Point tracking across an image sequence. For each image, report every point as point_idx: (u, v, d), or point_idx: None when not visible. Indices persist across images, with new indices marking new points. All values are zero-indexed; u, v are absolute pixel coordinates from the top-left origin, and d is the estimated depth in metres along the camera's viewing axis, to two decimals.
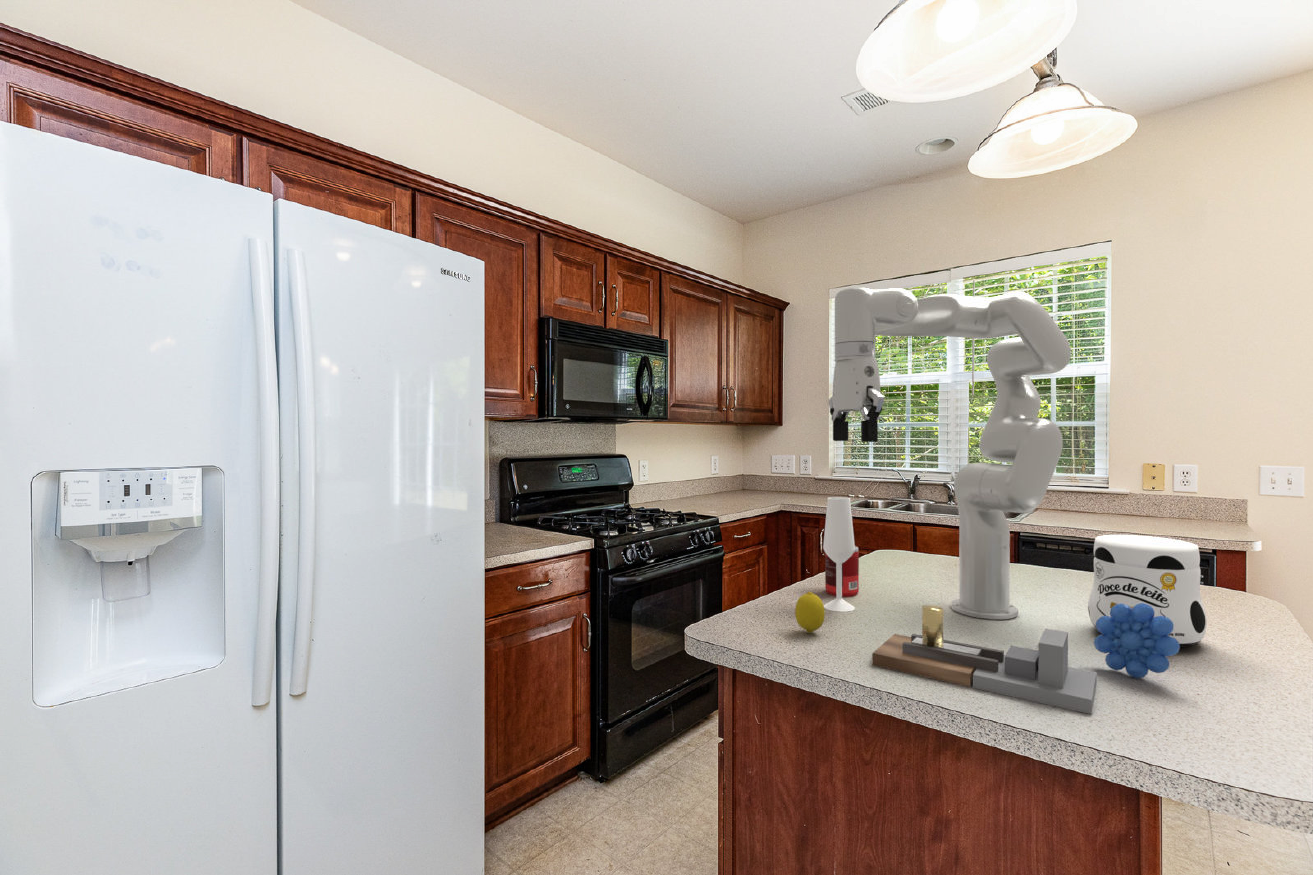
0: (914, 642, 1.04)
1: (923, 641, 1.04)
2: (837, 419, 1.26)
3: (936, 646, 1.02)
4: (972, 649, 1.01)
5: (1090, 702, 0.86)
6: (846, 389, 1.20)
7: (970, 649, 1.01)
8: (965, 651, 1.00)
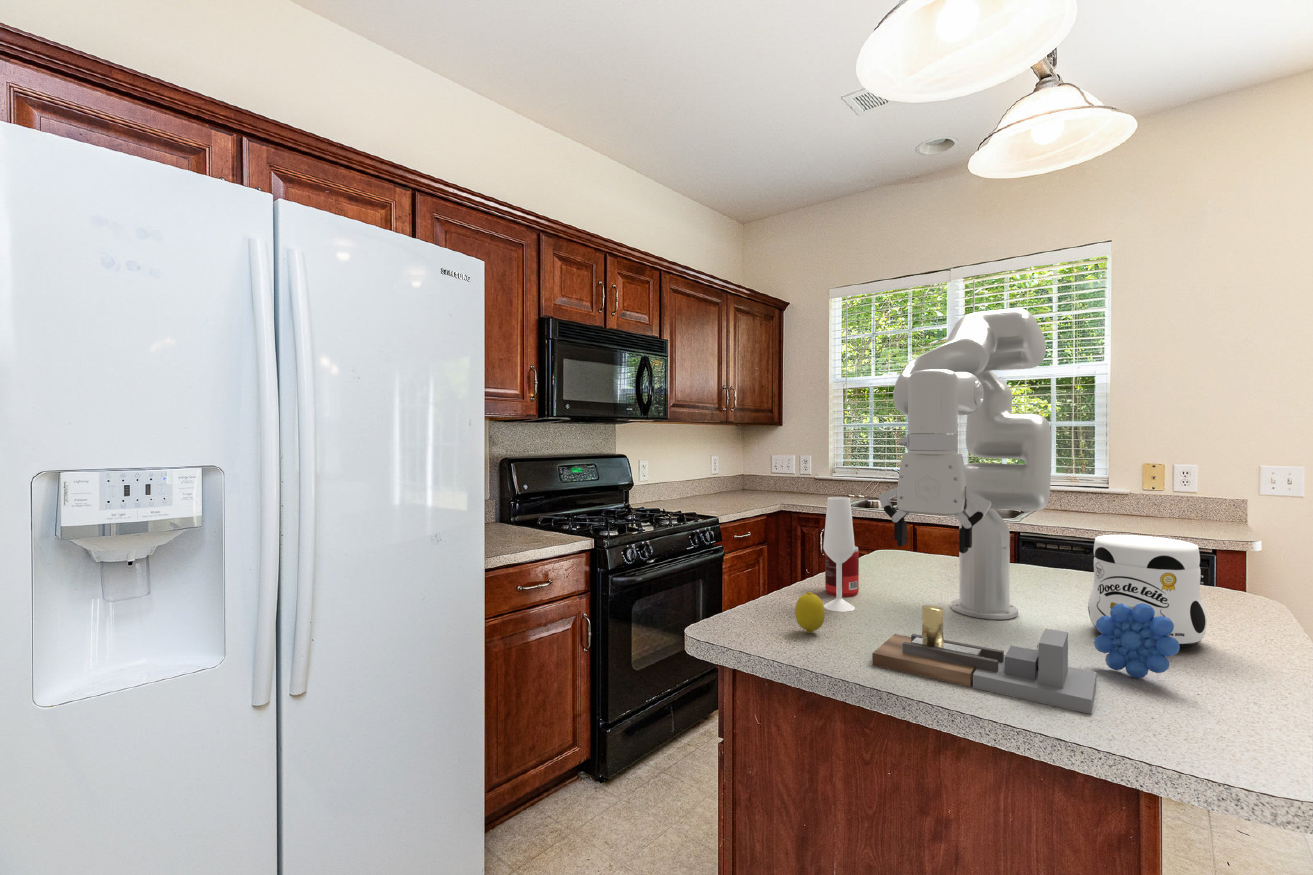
0: (914, 642, 1.04)
1: (923, 641, 1.04)
2: None
3: (936, 646, 1.02)
4: (972, 649, 1.01)
5: (1090, 702, 0.86)
6: None
7: (970, 649, 1.01)
8: (965, 651, 1.00)
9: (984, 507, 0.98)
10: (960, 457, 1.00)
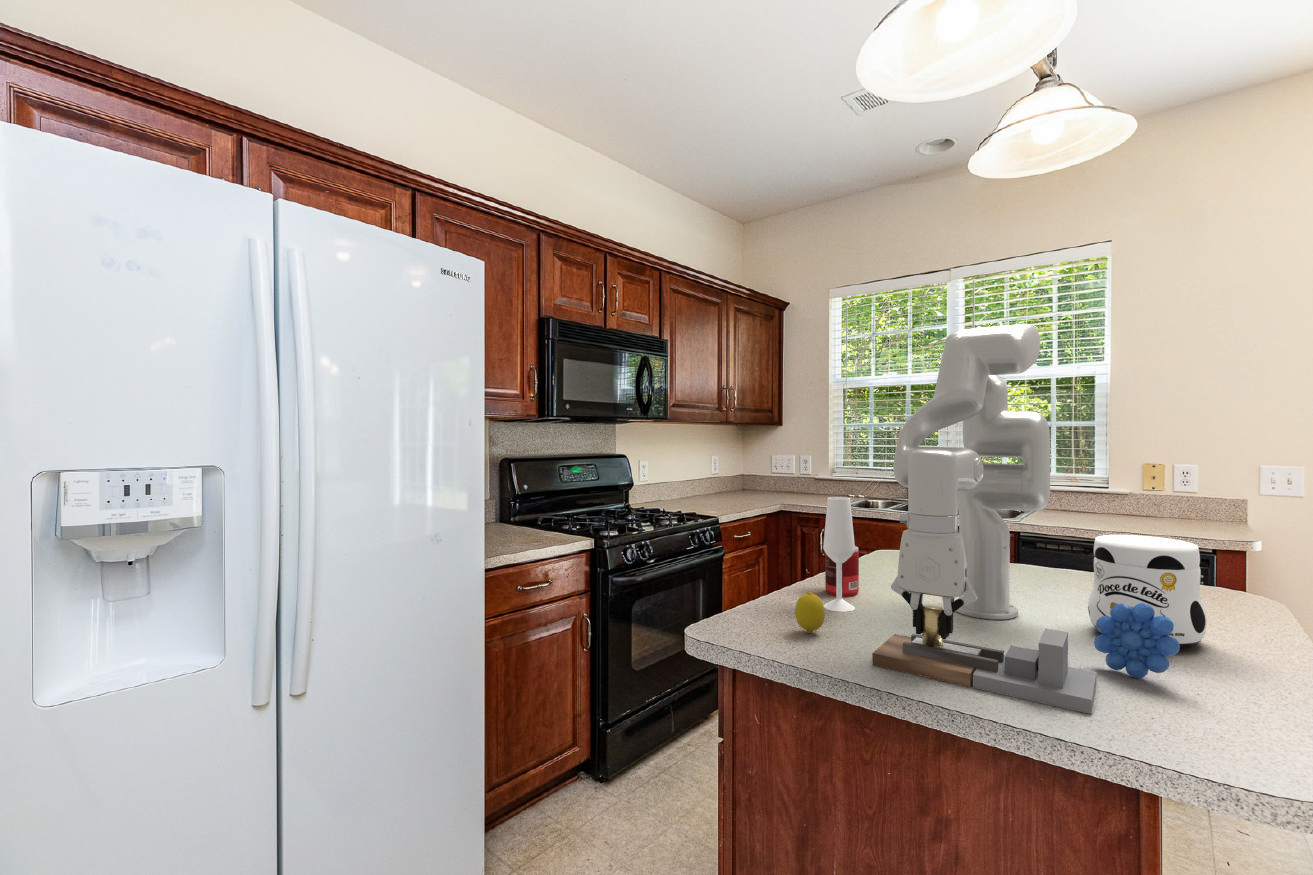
0: (914, 642, 1.04)
1: (923, 641, 1.04)
2: None
3: (936, 646, 1.02)
4: (972, 649, 1.01)
5: (1090, 702, 0.86)
6: None
7: (970, 649, 1.01)
8: (965, 651, 1.00)
9: (969, 600, 1.00)
10: (960, 539, 1.00)
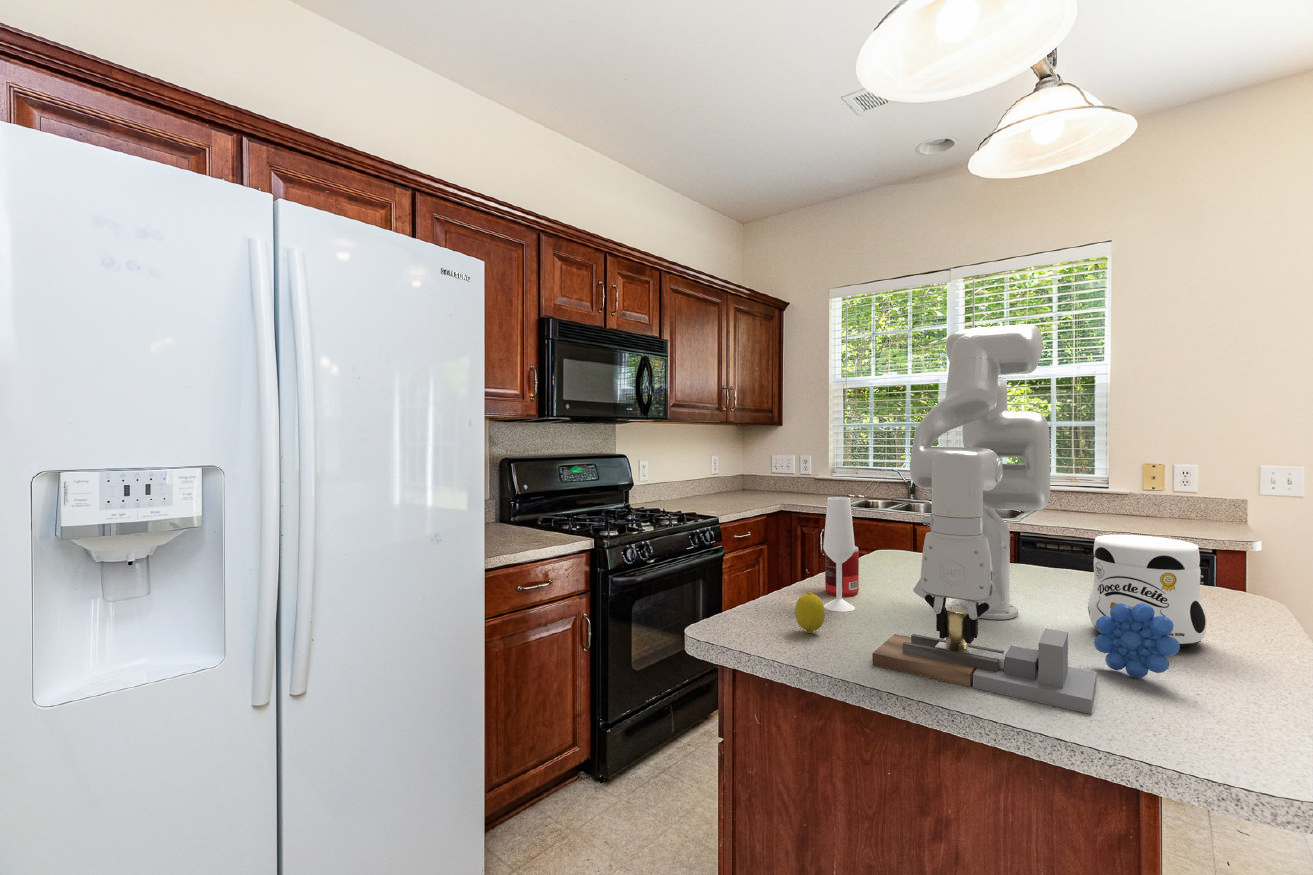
0: (938, 647, 1.02)
1: (947, 646, 1.02)
2: None
3: (961, 651, 1.00)
4: (997, 654, 0.99)
5: (1090, 702, 0.86)
6: None
7: (996, 653, 0.99)
8: (991, 656, 0.98)
9: (995, 604, 0.98)
10: (986, 542, 0.98)
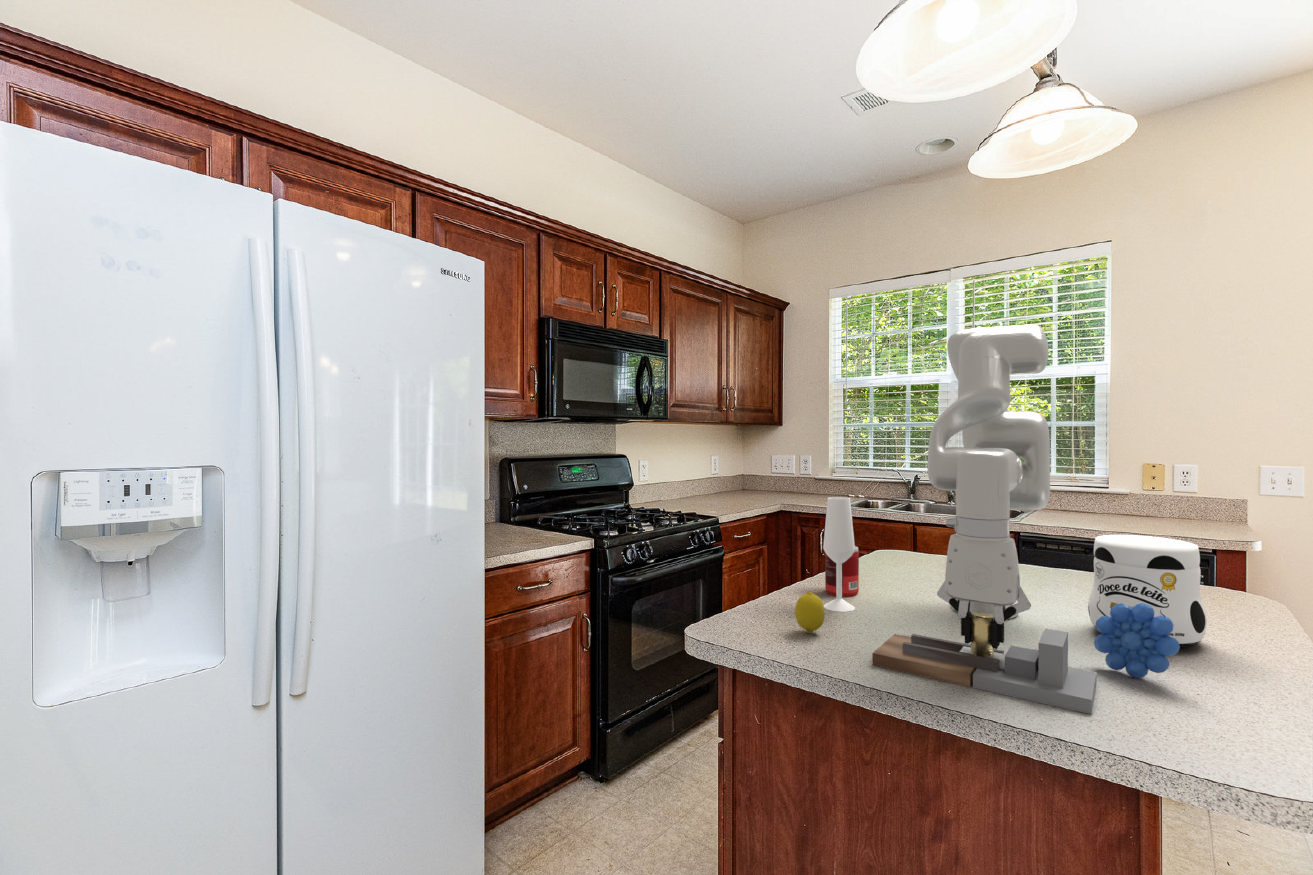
0: (962, 651, 1.00)
1: (972, 650, 0.99)
2: None
3: (987, 656, 0.98)
4: None
5: (1090, 702, 0.86)
6: None
7: None
8: None
9: (1022, 608, 0.95)
10: (1013, 544, 0.95)
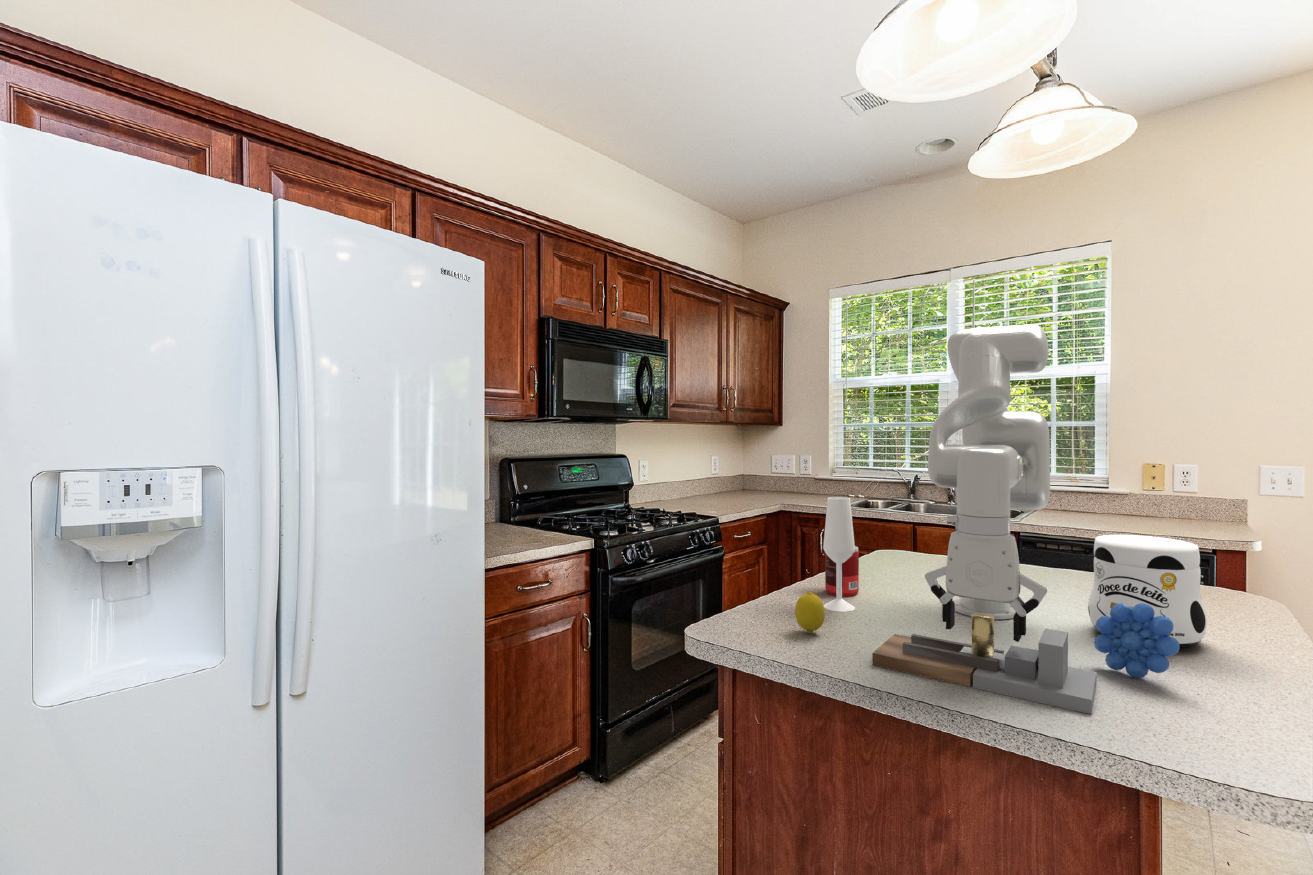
0: (963, 652, 1.00)
1: (973, 651, 0.99)
2: None
3: (987, 656, 0.98)
4: None
5: (1090, 702, 0.86)
6: None
7: None
8: None
9: (1040, 595, 0.94)
10: (1014, 542, 0.95)
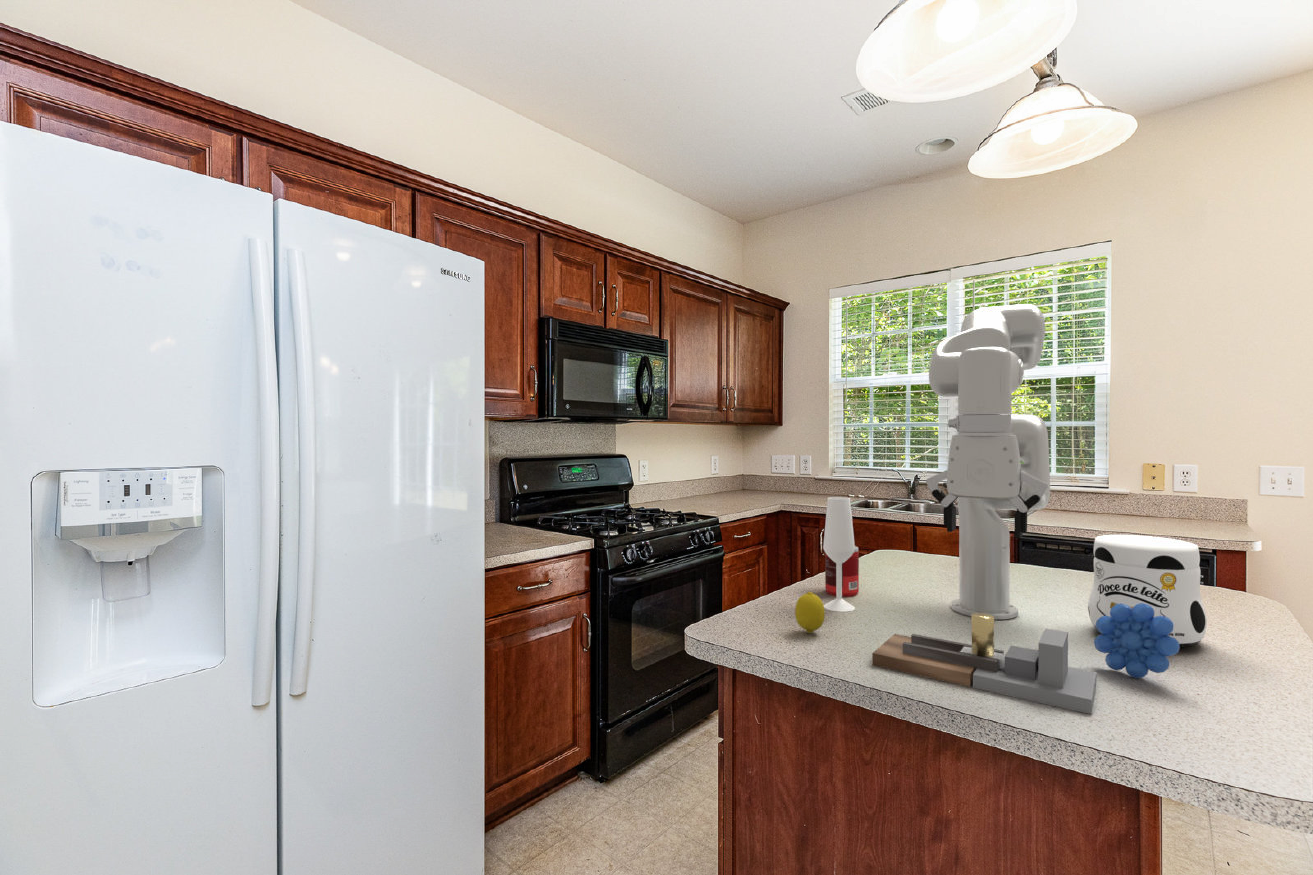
0: (963, 652, 1.00)
1: (973, 651, 0.99)
2: None
3: (987, 656, 0.98)
4: None
5: (1090, 702, 0.86)
6: None
7: None
8: None
9: (1041, 490, 0.94)
10: (1015, 438, 0.96)
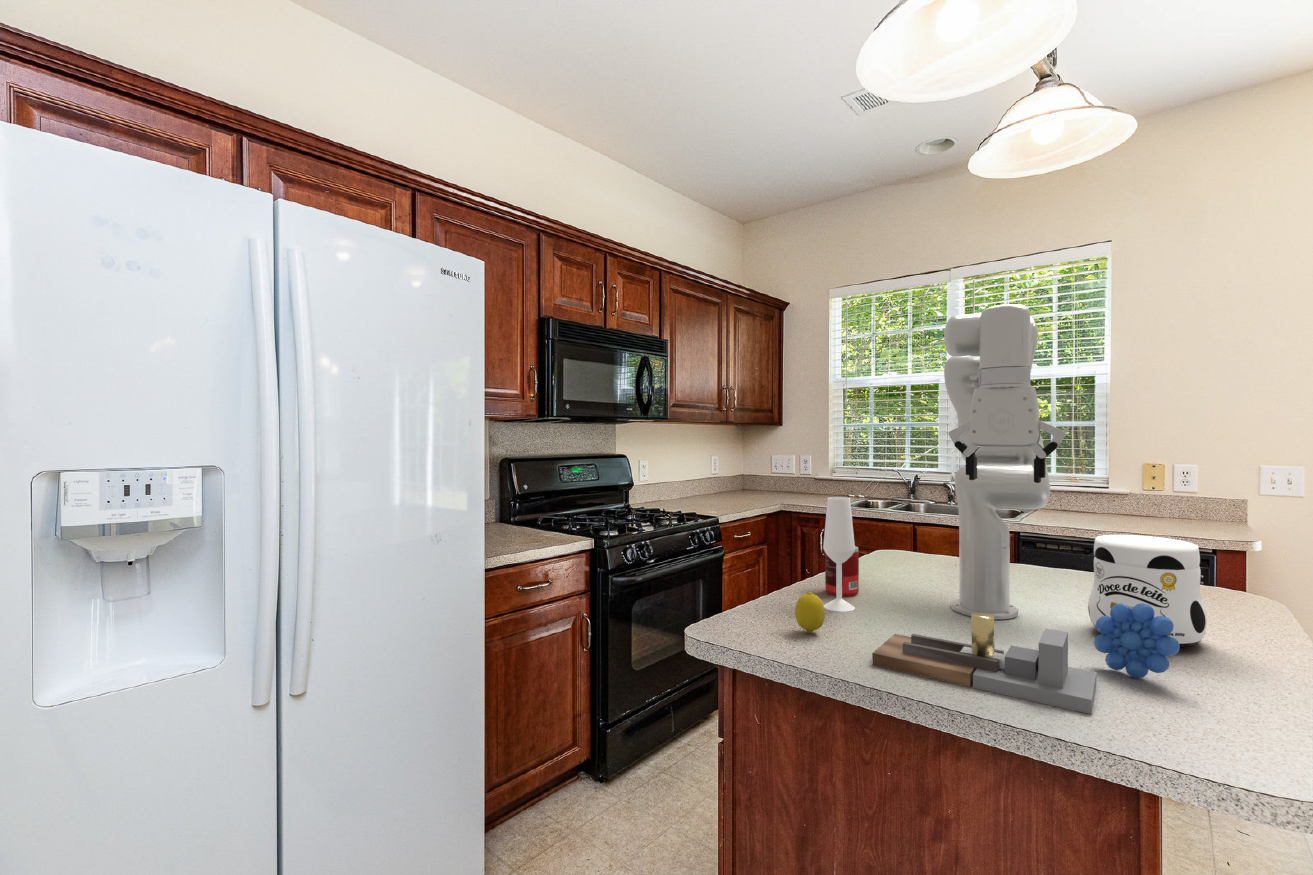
0: (963, 652, 1.00)
1: (973, 651, 0.99)
2: None
3: (987, 656, 0.98)
4: None
5: (1090, 702, 0.86)
6: None
7: None
8: None
9: (1059, 437, 1.00)
10: (1034, 389, 1.02)
